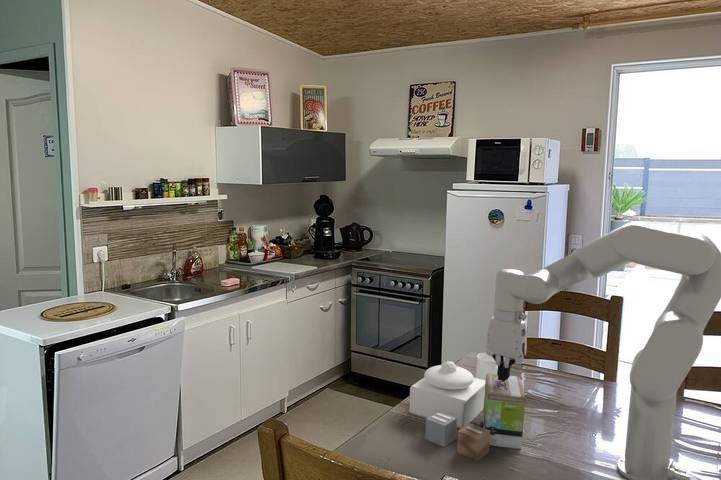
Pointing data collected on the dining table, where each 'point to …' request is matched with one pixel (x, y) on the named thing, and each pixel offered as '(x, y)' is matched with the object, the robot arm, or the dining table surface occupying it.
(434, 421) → the slate marked block
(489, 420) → the tea box
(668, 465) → the robot arm
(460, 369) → the butter dish
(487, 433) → the walnut marked block
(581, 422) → the dining table surface
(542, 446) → the dining table surface
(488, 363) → the mug
